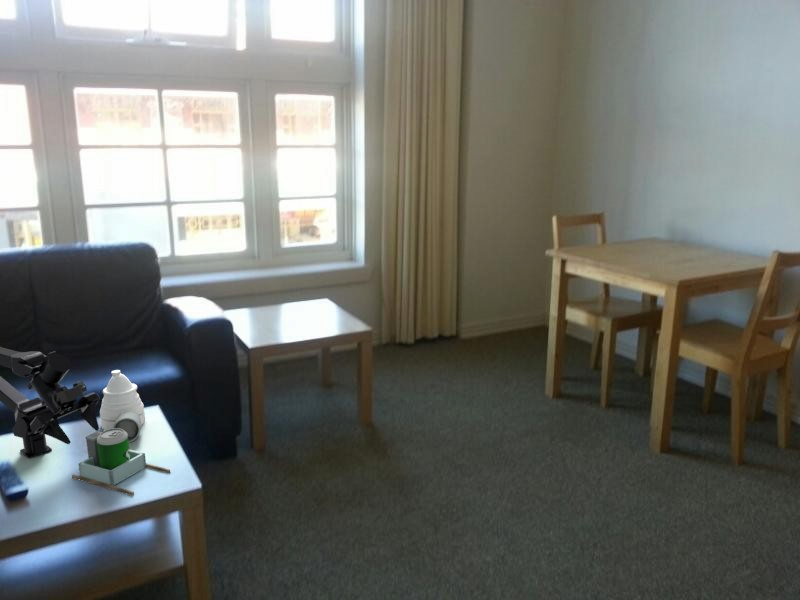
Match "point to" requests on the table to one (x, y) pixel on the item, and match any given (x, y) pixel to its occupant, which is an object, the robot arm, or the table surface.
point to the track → (118, 487)
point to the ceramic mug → (129, 424)
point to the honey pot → (119, 400)
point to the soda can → (113, 448)
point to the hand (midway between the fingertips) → (84, 436)
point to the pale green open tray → (111, 477)
